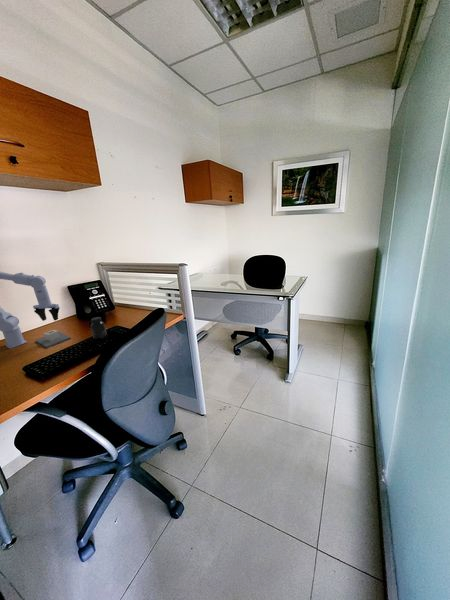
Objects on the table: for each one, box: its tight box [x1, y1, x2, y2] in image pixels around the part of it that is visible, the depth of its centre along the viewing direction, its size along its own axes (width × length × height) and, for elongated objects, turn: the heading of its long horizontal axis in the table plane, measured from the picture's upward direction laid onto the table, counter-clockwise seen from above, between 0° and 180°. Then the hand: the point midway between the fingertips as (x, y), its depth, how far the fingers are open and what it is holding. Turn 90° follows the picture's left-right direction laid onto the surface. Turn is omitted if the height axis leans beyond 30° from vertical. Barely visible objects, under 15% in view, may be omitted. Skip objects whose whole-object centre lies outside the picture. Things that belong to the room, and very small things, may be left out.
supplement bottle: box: [90, 316, 108, 339], centre depth 132 cm, size 7×7×12 cm
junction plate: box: [35, 331, 71, 349], centre depth 135 cm, size 16×12×5 cm
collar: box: [43, 329, 60, 341], centre depth 135 cm, size 5×5×4 cm
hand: (50, 320), depth 137 cm, fingers open, 7 cm apart
